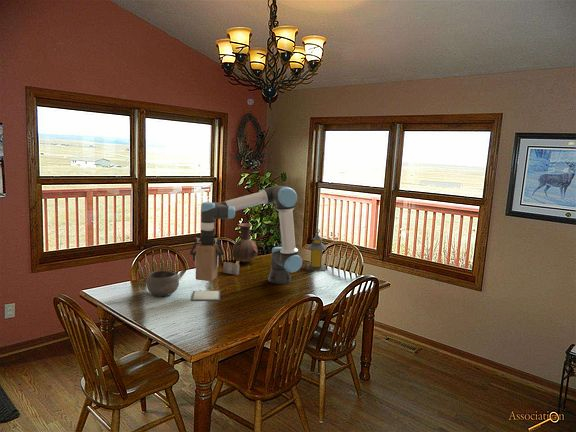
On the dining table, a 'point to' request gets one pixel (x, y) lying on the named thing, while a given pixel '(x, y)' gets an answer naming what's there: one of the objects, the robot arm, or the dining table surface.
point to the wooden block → (206, 262)
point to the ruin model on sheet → (231, 268)
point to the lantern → (316, 254)
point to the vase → (244, 245)
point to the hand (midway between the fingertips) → (206, 266)
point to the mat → (206, 296)
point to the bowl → (162, 282)
